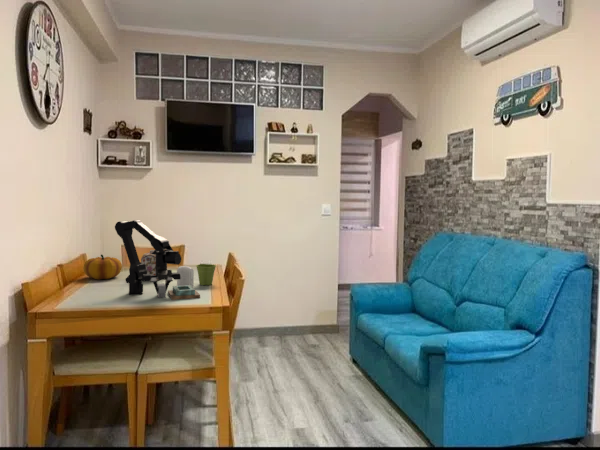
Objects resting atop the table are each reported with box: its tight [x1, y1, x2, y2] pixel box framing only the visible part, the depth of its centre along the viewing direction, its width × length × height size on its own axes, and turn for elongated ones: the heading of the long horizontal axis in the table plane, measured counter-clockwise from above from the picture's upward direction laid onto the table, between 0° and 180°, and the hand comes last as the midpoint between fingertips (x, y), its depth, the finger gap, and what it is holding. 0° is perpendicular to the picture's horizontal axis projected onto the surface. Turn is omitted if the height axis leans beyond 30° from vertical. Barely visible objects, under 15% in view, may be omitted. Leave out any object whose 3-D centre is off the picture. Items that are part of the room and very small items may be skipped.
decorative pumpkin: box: [82, 254, 123, 281], centre depth 281 cm, size 20×22×15 cm
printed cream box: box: [176, 265, 195, 288], centre depth 256 cm, size 10×4×12 cm, turn 60°
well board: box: [167, 285, 201, 301], centre depth 236 cm, size 14×16×4 cm
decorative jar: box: [140, 249, 159, 281], centre depth 281 cm, size 12×12×18 cm
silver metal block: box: [156, 282, 167, 299], centre depth 233 cm, size 4×7×6 cm, turn 23°
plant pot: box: [195, 263, 217, 286], centre depth 266 cm, size 12×12×11 cm
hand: (161, 293), depth 233 cm, fingers closed on silver metal block, 3 cm apart
